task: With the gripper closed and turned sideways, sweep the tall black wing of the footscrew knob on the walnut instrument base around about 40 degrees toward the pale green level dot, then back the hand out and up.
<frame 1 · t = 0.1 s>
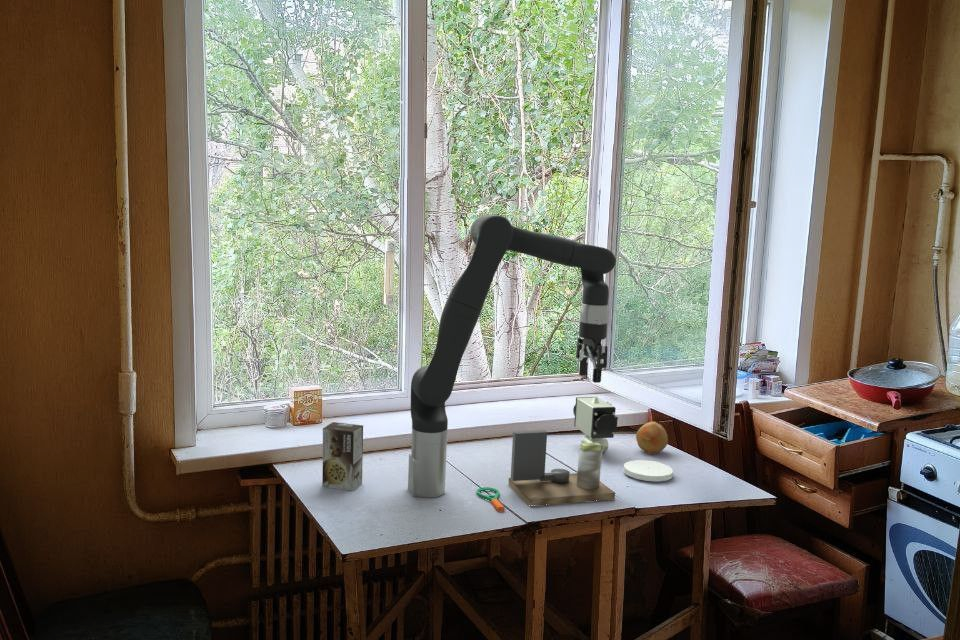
hand: (589, 378, 214), 29 cm above the table, tool pointing down, fingers open, 8 cm apart
magnifying glass: (492, 502, 201), on the table
plastic lid: (647, 476, 226), on the table
onion: (650, 453, 247), on the table
instrument base: (560, 492, 209), on the table
wing knob: (541, 456, 209), point 9 cm above the table, hinge at 0.0°
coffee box: (342, 485, 207), on the table
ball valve: (593, 452, 246), on the table
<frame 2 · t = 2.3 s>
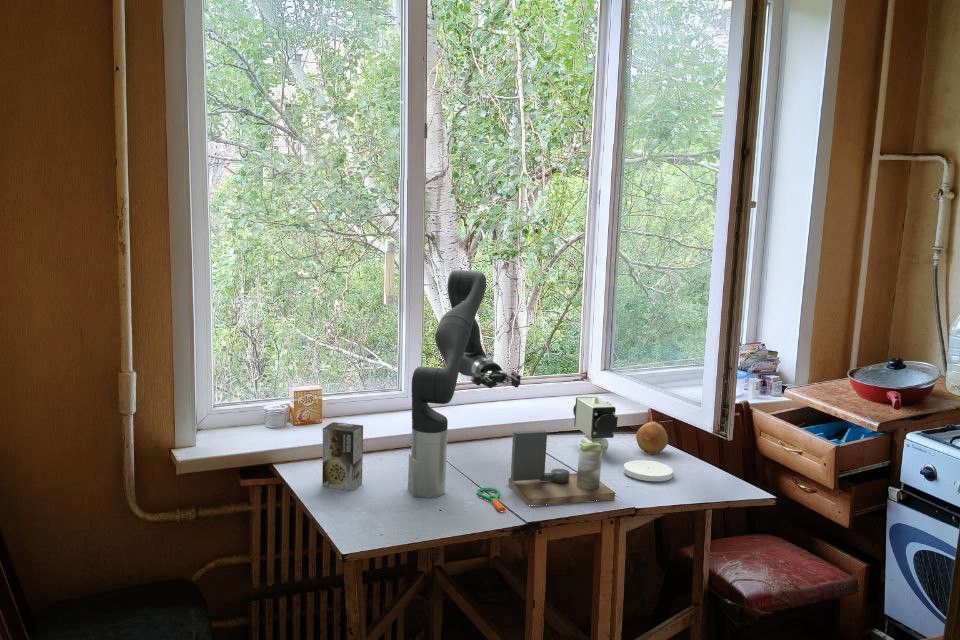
hand: (504, 384, 222), 25 cm above the table, tool horizontal, fingers open, 7 cm apart
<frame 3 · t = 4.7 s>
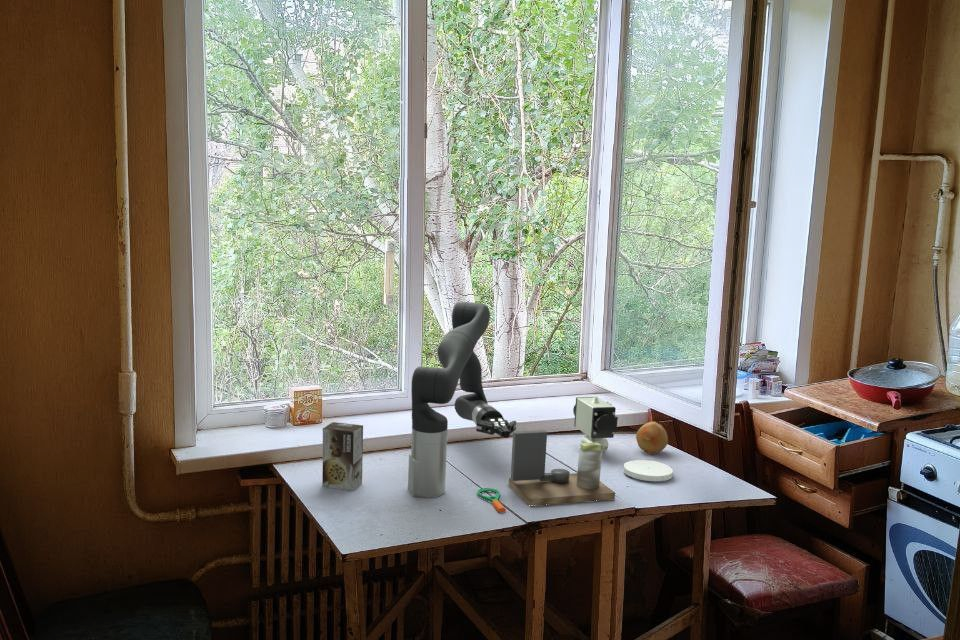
hand: (506, 434, 220), 11 cm above the table, tool horizontal, fingers closed
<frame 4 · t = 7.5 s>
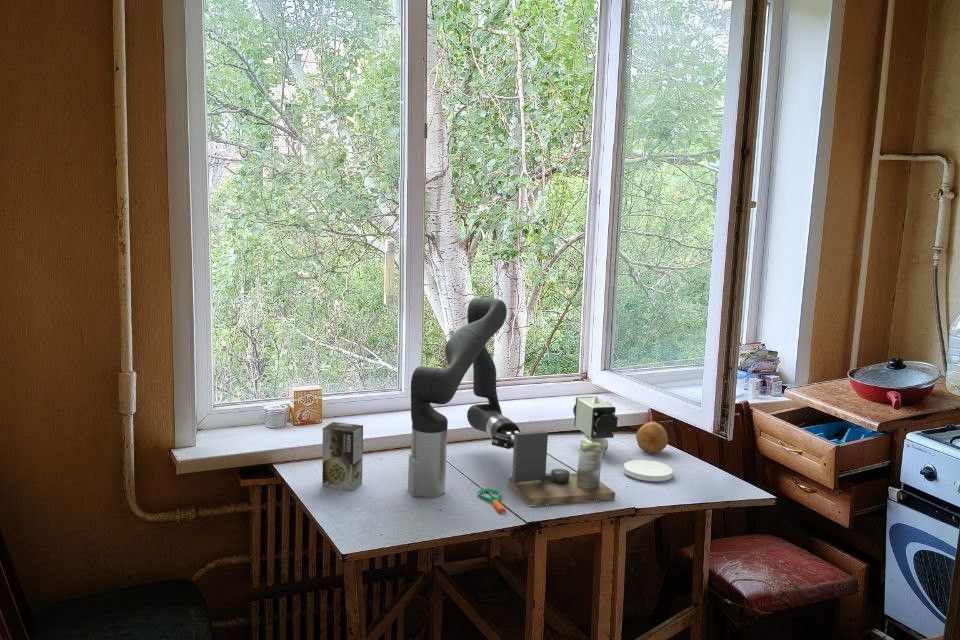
hand: (524, 449, 207), 12 cm above the table, tool horizontal, fingers closed
wing knob: (542, 457, 208), point 9 cm above the table, hinge at 4.7°, touching gripper
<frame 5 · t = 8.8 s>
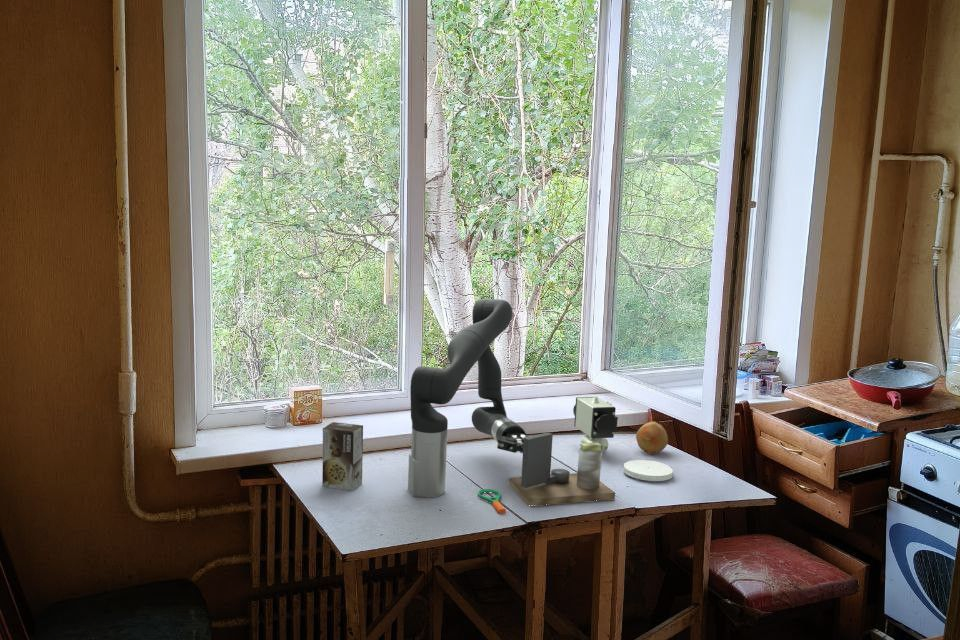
hand: (530, 452, 204), 12 cm above the table, tool horizontal, fingers closed
wing knob: (546, 459, 207), point 9 cm above the table, hinge at 23.7°, touching gripper
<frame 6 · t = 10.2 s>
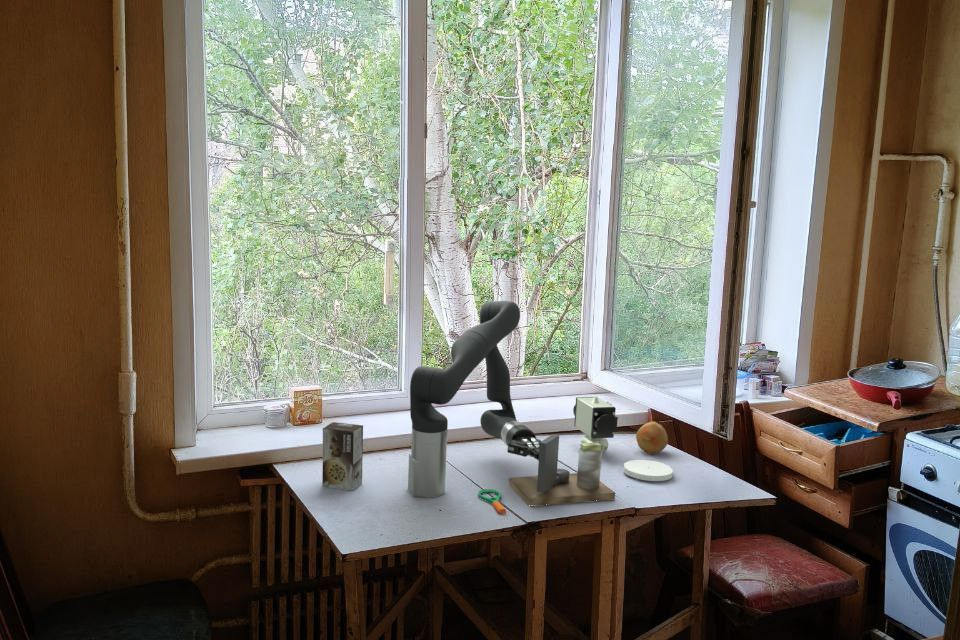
hand: (541, 456, 201), 11 cm above the table, tool horizontal, fingers closed
wing knob: (553, 461, 205), point 9 cm above the table, hinge at 44.9°, touching gripper
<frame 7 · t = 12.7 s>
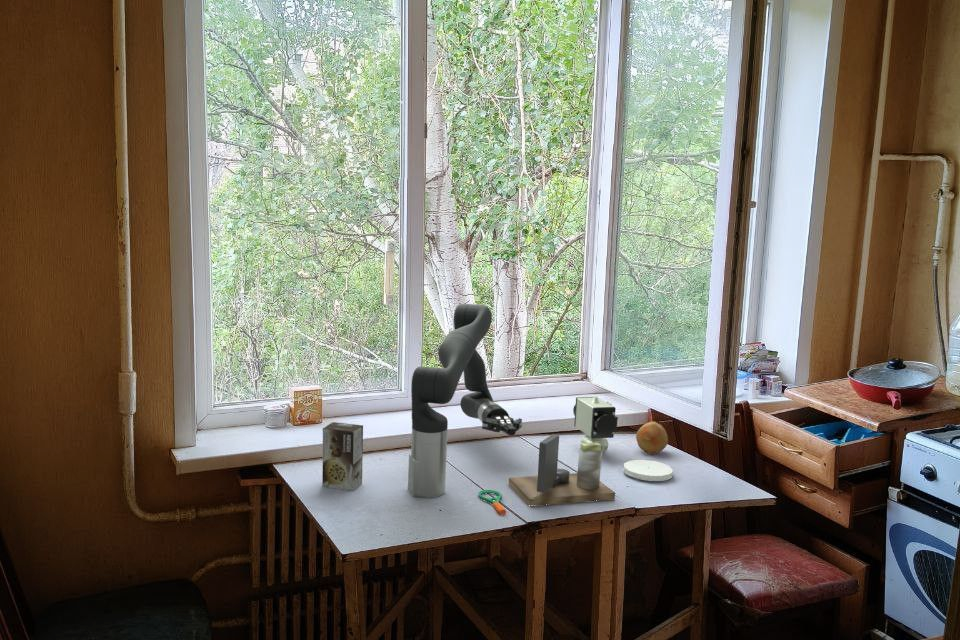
hand: (512, 432, 222), 12 cm above the table, tool horizontal, fingers closed
wing knob: (553, 461, 205), point 9 cm above the table, hinge at 45.0°
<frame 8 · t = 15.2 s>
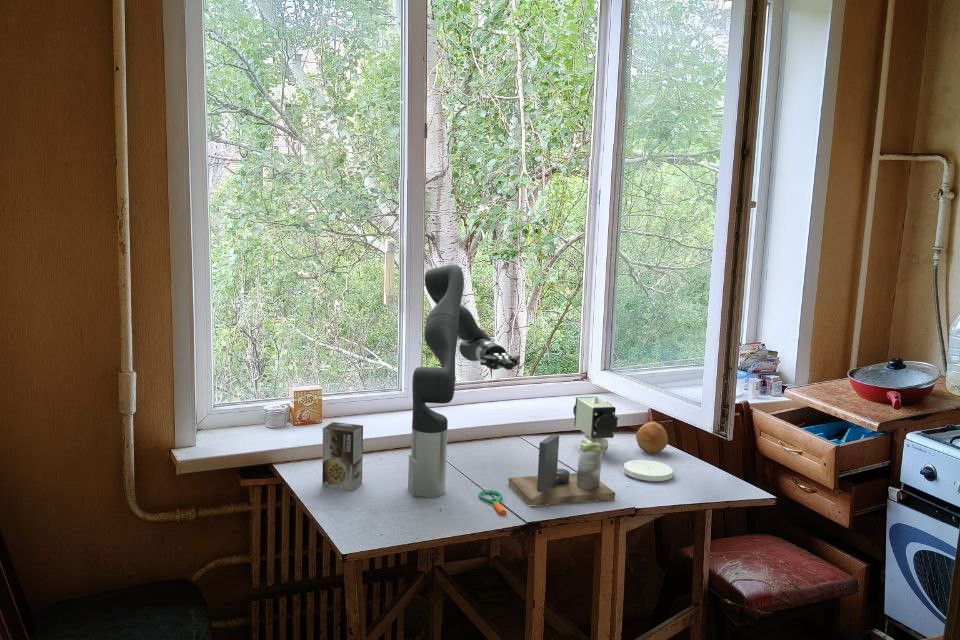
hand: (510, 366, 223), 30 cm above the table, tool horizontal, fingers closed
at the end: wing knob at +45° (first picture: +0°) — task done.
